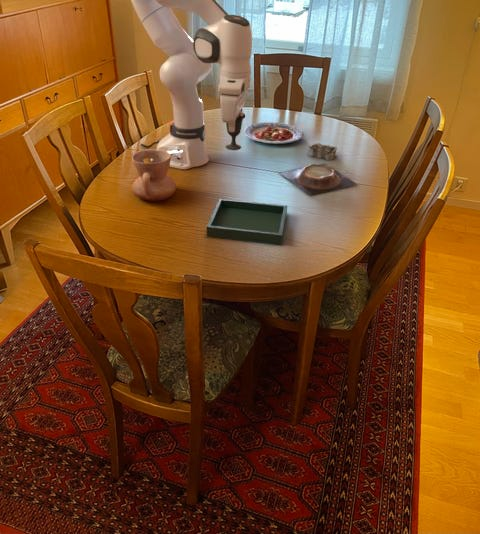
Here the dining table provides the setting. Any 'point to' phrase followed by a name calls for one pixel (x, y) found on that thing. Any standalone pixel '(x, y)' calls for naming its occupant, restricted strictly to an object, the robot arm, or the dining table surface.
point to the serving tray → (248, 221)
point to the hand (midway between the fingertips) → (233, 127)
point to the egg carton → (322, 151)
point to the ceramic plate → (273, 132)
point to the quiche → (318, 178)
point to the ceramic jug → (153, 175)
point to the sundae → (235, 132)
